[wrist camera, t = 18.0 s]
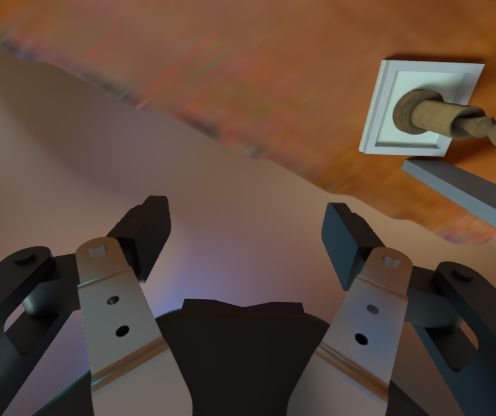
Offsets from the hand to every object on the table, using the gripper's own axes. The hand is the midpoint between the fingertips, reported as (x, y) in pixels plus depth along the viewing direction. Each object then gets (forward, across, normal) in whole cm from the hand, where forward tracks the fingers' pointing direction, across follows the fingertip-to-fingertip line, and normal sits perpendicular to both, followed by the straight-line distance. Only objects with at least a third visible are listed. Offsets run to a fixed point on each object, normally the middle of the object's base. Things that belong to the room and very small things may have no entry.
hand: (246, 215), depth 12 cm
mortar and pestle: (+31, -26, -2) cm, 41 cm away
